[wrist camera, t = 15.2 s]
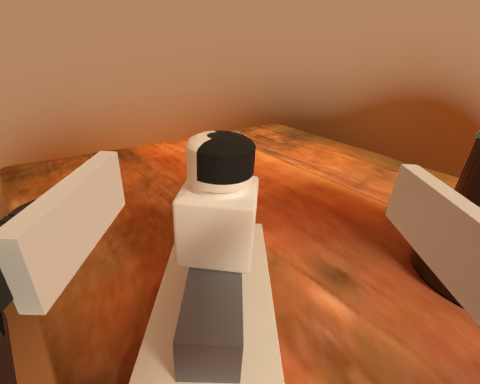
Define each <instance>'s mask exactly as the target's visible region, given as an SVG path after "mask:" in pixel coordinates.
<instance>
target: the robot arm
mask: <svg viewBox="0 0 480 384" xmlns="http://www.w3.org/2000/svg"><path fill="white" fill-rule="evenodd" d="M475 137H477V139H476V141H475V144H474V146H473V148H472V151H471V153H470V155H469V158H468V160H467V162H466V165H465V167H464V169H463V171H462V174H461V176H460V178H459V180H458V182H457V185H456V187H455V189H454V190H453V189H452V188H451V187H449V186H448V185H446V184H445V183H443V182H442V181H440V180H439V179H437V178H436V177H434V176H433V175H432V174H430V173H429V172H427V171H426V170H424V169H423V168H421V167H420V166H418V165H409V164H401V166H400V170H399V173H398V176H397V179H396V182H395V185H394V188H393V191H392V194H391V197H390V201H389V204H388V207H387V210H386V213H385V215H386V217H387V218H388V219H389V220H390V221H391V222H392V224H393V225H394V226H395V227H396V228H397V230H398V231H399V232H400V233H401V234H402V236H403V237H404V238H405V239H406V240H407V241H408V243H409V244H410V245H411V246H412V247H413V249H412V251H411V261H412V264H413V266H414V268H415V269H416V271H417V272H418V273H419V275H420V276H421V277H422V278H423V279H424V280H425V281H426V282H427V283H428V284H429V285H430V286H432V287H433V288H434V289H435V290H437V291H438V292H439V293H441V294H442V295H444V296H445V297H447V298H448V299H450V300H452V301H453V302H455V303H457V304H459V305H460V306H462V307H463V308H464V309H465V310H466V312H467V313H468V314H469V315H470V316H471V318H472V319H473V320H474V321H475V322H476V323H477V325H478V326H479V327H480V130H479V131H478V132H477V133H476V136H475ZM124 205H125V199H124V192H123V186H122V179H121V173H120V167H119V160H118V154H117V152H114V151H99V152H98V153H97V154H96V155H94V156H93V157H92V158H90V159H89V160H88V161H86V162H85V163H84V164H82V165H81V166H80V167H78V168H77V169H76V170H75V171H73V172H72V173H71V174H69V175H68V176H67V177H65V178H64V179H63V180H61V181H60V182H59V183H57V184H56V185H55V186H53V187H52V188H51V189H50V190H48V191H47V192H46V193H44V194H43V195H42V196H40V197H39V198H38V199H35V200H32V201H30V202H28V203H26V204H23V205H21V206H19V207H18V208H16V209H15V210H14V211H12V212H11V213H9V214H8V216H5V217H4V218H3V219H1V220H0V384H17V382H16V376H15V369H14V364H13V357H12V350H11V344H10V337H9V330H8V325H7V319H6V316H5V315H4V312H3V310H4V309H5V308H6V307H7V306H8V305H9V303H10V302H11V301H12V300H13V302H14V304H15V306H16V309H17V311H18V313H19V314H25V315H46V313H47V312H48V311H49V309H50V308H51V307H52V305H53V304H54V302H55V301H56V300H57V298H58V297H59V295H60V294H61V293H62V291H63V290H64V289H65V287H66V286H67V284H68V283H69V282H70V280H71V279H72V277H73V276H74V275H75V273H76V272H77V270H78V269H79V268H80V266H81V265H82V264H83V262H84V261H85V259H86V258H87V257H88V255H89V254H90V252H91V251H92V250H93V248H94V247H95V246H96V244H97V243H98V241H99V240H100V239H101V237H102V236H103V234H104V233H105V232H106V230H107V229H108V227H109V226H110V225H111V223H112V222H113V221H114V219H115V218H116V216H117V215H118V214H119V212H120V211H121V209H122V208H123V207H124Z"/></svg>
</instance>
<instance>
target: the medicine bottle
mask: <svg viewBox="0 0 480 384" xmlns="http://www.w3.org/2000/svg"><path fill="white" fill-rule="evenodd" d="M255 149H256V146H255V144H254V142H253V141H252V140H251V139H250V138H248V137H246V136H244V135H242V134H239V133H236V132H230V131H207V132H202V133H199V134H197V135H194V136H192V137H191V138H190V139H189V140H188V141H187V143H186V160H187V180H186V181H185V183H184V184H183V186H182V188H181V189H180V191H179V192H178V194H177V195H176V197H175V199H174V200H173V203H172V206H173V225H174V243H175V261H176V265H177V266H180V267H190V268H199V269H208V270H217V271H227V272H236V273H245V274H247V273H249V272H250V270H251V261H252V251H253V240H254V230H255V219H256V209H257V196H258V184H259V179H258V177H257V176H253V173H254V161H255Z"/></svg>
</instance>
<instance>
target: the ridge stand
mask: <svg viewBox="0 0 480 384" xmlns="http://www.w3.org/2000/svg"><path fill="white" fill-rule="evenodd" d="M129 384H284V377H283V370H282V363H281V356H280V349H279V342H278V335H277V327H276V320H275V313H274V306H273V299H272V292H271V285H270V278H269V271H268V264H267V257H266V250H265V243H264V236H263V229H262V224H255V230H254V240H253V251H252V261H251V270H250V272H249V273H247V274H245V273H236V272H227V271H217V270H208V269H199V268H190V267H180V266H177V265H176V261H175V243H174V245H173V248H172V251H171V254H170V257H169V260H168V263H167V266H166V269H165V273H164V276H163V279H162V282H161V285H160V288H159V291H158V294H157V297H156V301H155V304H154V307H153V310H152V313H151V316H150V319H149V322H148V325H147V329H146V332H145V335H144V338H143V341H142V344H141V347H140V350H139V353H138V357H137V360H136V363H135V366H134V369H133V372H132V375H131V378H130V382H129Z"/></svg>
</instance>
